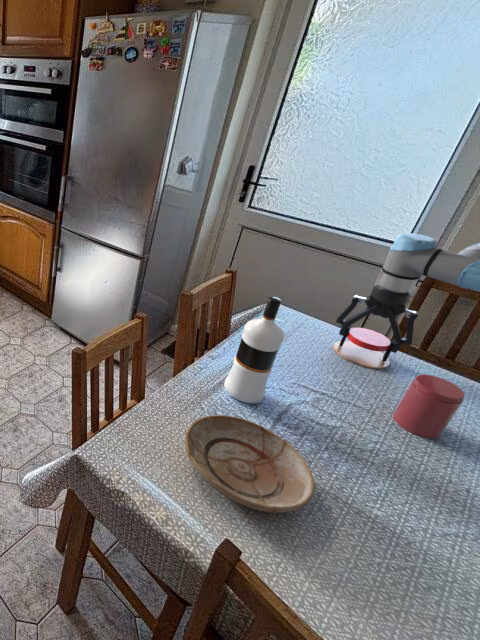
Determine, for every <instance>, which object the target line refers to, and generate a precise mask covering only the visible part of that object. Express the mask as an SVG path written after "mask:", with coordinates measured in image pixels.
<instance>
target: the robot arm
mask: <svg viewBox="0 0 480 640" xmlns="http://www.w3.org/2000/svg"><path fill="white" fill-rule="evenodd" d="M437 243H438V242H437V240H436V239H435V238H433V237H429V236H428V235H425V234H419V233H411V232H410V233H409V232H408V233H407V232H405V233H401V234H398V235H397V237H396V238H395V240H394V242H393V243H392V246H391V247H390V248H389V252H388V254H387V256H386V258H385V261H384V263H383V265H382V268H381V270H380V272H379V274H378V276H377V278H376V280H375V283H374V284H373V287H372V289H371V291H370V293H369V295H368V296H366V297H364V296H360V295H359V294H354V295H353V297H352V299H351V302H350V303H349V304H348V305H347V306H346V307H345V308H344V310H343V311H342V312H341V313H340V314H339V315H338V316H337V318H336V320H335V322H336V324H339V325H341V327H340V330H339V332H338V334H339V336H341V340H340V341H341V342H340V344H339V346H341V347H342V346H343V344H344V342H345V340H347V335H348V333H349V331H350V329H351V328H352V325H353V324H355V323H357V322H358V321H360V320H362V319H363V318H366V317H368V316H369V315H373V316H376V317H377V316H378V317H381V318H384V319H388V321H389V323H390V328H391V330H392V335H393V338H391V340H390V342H391V344H390V346H389V348H388V350H386V351H384V352H385V353H383V354H384V356H383V360H382V361H385V362H386V360H387V359H389V357H390V355H391V353H394V354H396V353H398V351H399V349H400V348H401V346H402V345H406V346H412V344H413V337H414V336H413V335H414V328H415V327H414V326H415V321H417V318H419V311H418V310H416V309H415V310H411V309H408V308H406V305H407V303H408V301H409V299H410V297H411V295H412V292H413V291H414V289H415V288H416V285H417V283H418V282H419V280H420V277H421V276H423V277H428V278H430V279H434V280H438V281H441V282H443V283H447V284H450V285H454V286H457V287H460V288H462V289H465V290H471V291H474V292H475V291H476V292H479V293H480V242H479V243H474V244H470V245H469V246H466V247H465V248H464V249H462V250H461V251H459V252H457V253H456V252H452V251H448V250H444V249H441V248H438V247H437ZM362 303H364V304H365V305H366V307H365V308H364V309H362V310H360V311H359V312H356V314H354V315H352V316H351V317H349V318H347V317H348V316H349V315H350V313H351V312H352V311H353V310H354V309H355V308H356V307H357V306H358V305H361V304H362ZM402 314H405V318H407V324H406V334H405V337H403V335H402V332H401V328H400V325H399V322H398V317H397V316H400V315H402ZM346 318H347V319H346Z"/></svg>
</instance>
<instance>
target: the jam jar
mask: <svg viewBox="0 0 480 640" xmlns="http://www.w3.org/2000/svg"><path fill="white" fill-rule="evenodd" d="M464 399H465V392H464V391H463V390H462V388H460V387H459V386H457V385H456V384H455V383H453V382H451V381H449V380H447V379H444V378H441V377H439V376H436V375H430V374H419V375H416V376H415V377H414V378H413V380H412V381H410V384H409V386H408V387H407V389H406V391H405V392H404V393H403V396H402V397H401V399H400V400H399V403H398V405H397V406H396V408H395V410H394V412H393V414H392V419H393V420H394V421H395V422H396V424H397V425H398V426H400V427H402V429H404V430H406V431H408V432H410V433H411V434H414V435H415V436H419V437H421V438H425V439H432V440H434V439H439V438H440V437H441V436H442V434H443V433H444V431H446V428H447V426H449V424H450V422H451V421H452V419H453V418H454V416H455V414H456V413H457V411H458V410H459V408H460V407H461V405H462V404H463V402H464Z"/></svg>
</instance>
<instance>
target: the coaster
mask: <svg viewBox="0 0 480 640" xmlns="http://www.w3.org/2000/svg"><path fill="white" fill-rule="evenodd" d="M340 342H341V340H337V341H335V342H334V343H333V345H332V349H333V350H334V352H335V353H336V354H337V355H338V356H339V357H341V358H342V359H344V360H346V361H348V362H350V363H352V364H355V365H357V366H360V367H363V368H367V369H374V370H383V369H384V370H385V369H387V368H389V367H390V365H391V360H390V358H388V359H387V360H386V362H385V361H382V360H383V356H384V354H385V353H383V351H382V352H380V351H372V350H368V349H365V348H362V347H360V346H358V345H356V344H354V343H352V342H351V341H350V340H348V339H345V342H344V344H343V346H342V347H341V346H339V344H340Z"/></svg>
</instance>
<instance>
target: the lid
mask: <svg viewBox="0 0 480 640" xmlns="http://www.w3.org/2000/svg"><path fill="white" fill-rule="evenodd" d="M346 339H347V340H348V341H351V342H352V343H354V344H356V345H358V346H360V347H362V348H365V349H368V350H372V351H380V352H382V353H383V352H386V350H388V348H389V346H390V344H391V340H390V339H389V338H388V337H387V336H385V335H384V334H383V333H380V332H377V331H376V330H372V329H370V328H366V327H365V328H364V327H351V328H350V331H349V333H348V335H347V337H346Z"/></svg>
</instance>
